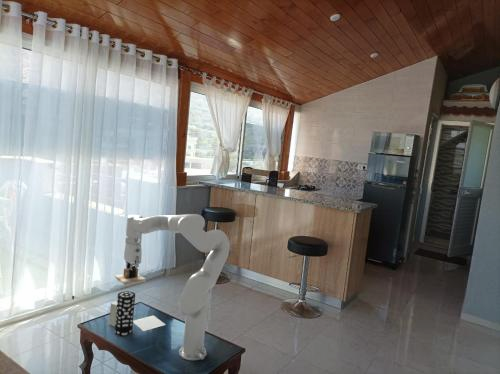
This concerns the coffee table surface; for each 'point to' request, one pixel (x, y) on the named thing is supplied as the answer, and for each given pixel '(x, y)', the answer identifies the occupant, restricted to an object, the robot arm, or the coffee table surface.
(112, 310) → the skincare box
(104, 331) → the coffee table surface
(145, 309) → the coffee table surface
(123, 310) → the spotted tube
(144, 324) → the mat
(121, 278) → the lid
